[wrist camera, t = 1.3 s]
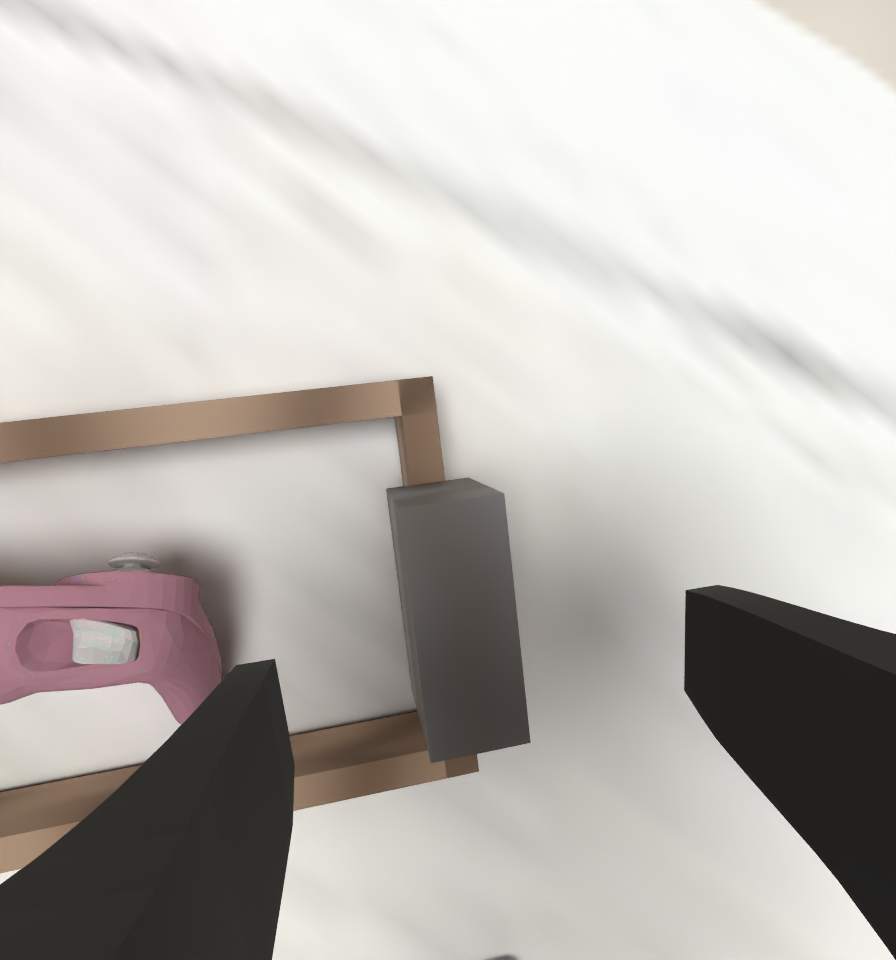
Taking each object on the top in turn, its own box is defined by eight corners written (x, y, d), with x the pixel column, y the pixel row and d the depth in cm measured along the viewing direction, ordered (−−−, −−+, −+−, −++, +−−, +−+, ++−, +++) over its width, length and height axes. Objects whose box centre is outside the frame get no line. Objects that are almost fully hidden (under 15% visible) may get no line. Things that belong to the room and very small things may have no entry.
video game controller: (237, 586, 21) (188, 527, 15) (230, 727, 19) (171, 731, 13) (-86, 600, 19) (-302, 540, 13) (-123, 756, 18) (-390, 777, 11)
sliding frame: (442, 379, 20) (489, 359, 13) (482, 726, 21) (543, 858, 15) (-269, 457, 17) (-649, 478, 10) (-168, 857, 18) (-448, 1095, 12)
